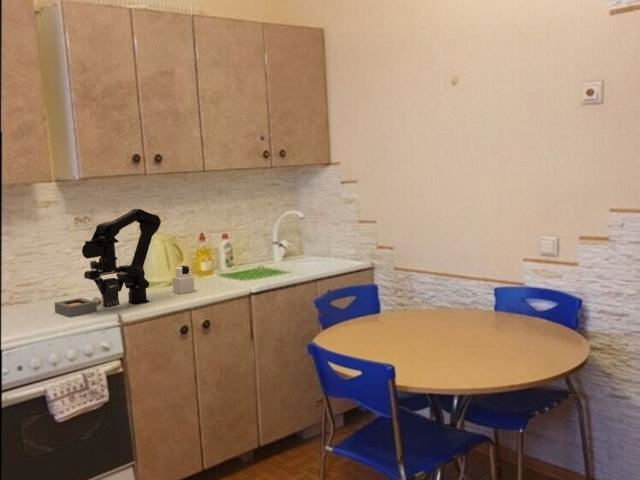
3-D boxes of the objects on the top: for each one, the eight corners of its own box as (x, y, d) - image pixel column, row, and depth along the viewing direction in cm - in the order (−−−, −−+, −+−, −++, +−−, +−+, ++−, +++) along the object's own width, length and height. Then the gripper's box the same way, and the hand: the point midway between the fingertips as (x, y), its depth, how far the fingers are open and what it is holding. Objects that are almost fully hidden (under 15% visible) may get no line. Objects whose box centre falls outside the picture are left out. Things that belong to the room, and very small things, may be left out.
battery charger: (107, 308, 244) (105, 280, 243) (101, 307, 246) (99, 279, 245) (122, 305, 249) (120, 277, 248) (116, 304, 252) (115, 276, 251)
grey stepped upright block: (186, 290, 284) (184, 264, 283) (194, 291, 279) (193, 265, 278) (172, 292, 279) (171, 266, 278) (181, 294, 274) (179, 268, 273)
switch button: (78, 308, 250) (78, 302, 250) (85, 309, 246) (84, 304, 246) (66, 310, 247) (66, 304, 246) (73, 312, 243) (72, 306, 242)
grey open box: (81, 307, 255) (80, 297, 255) (97, 311, 246) (96, 302, 245) (55, 312, 247) (54, 302, 247) (70, 317, 238) (69, 307, 237)
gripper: (119, 250, 258) (122, 287, 260) (76, 256, 244) (79, 294, 246) (132, 252, 250) (135, 289, 252) (89, 258, 237) (92, 298, 239)
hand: (111, 293), depth 247 cm, fingers open, 7 cm apart
